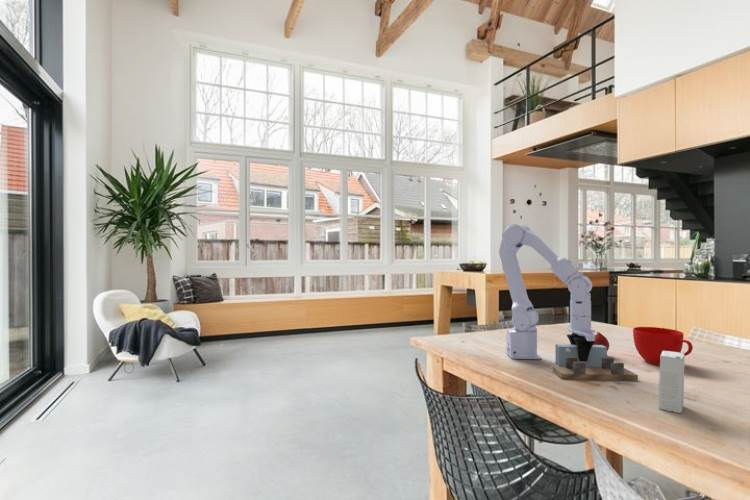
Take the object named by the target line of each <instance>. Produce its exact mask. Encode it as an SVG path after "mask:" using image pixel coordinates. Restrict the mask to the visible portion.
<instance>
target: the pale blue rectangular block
mask: <svg viewBox="0 0 750 500" xmlns="http://www.w3.org/2000/svg"><path fill="white" fill-rule="evenodd" d="M566 357H577V358H578V350H577V346H576V345H571V344H570V343H569V344H565V343H561V344H557V343H555V364H556V365H558V366H557V367H566ZM602 357H604V358H608V351H607V347H605V346H603V345H593V346H592V348H591V350H590V353H589V357H588V360H587V361H579V358H578V362H585V363H586V367H591V368H602Z"/></svg>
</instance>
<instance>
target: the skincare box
mask: <svg viewBox="0 0 750 500" xmlns="http://www.w3.org/2000/svg"><path fill="white" fill-rule="evenodd" d="M684 353H685V352H681V353H679V352H671V351H662V353H661V356H660V365H659V382H658V386H659V387H658V409H659V410H664V411H668V412H671V411H673V412H672V413H678V414H682V413H683V409H684V403H685V402H684V400H685V357H686V356H685V354H684Z"/></svg>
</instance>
